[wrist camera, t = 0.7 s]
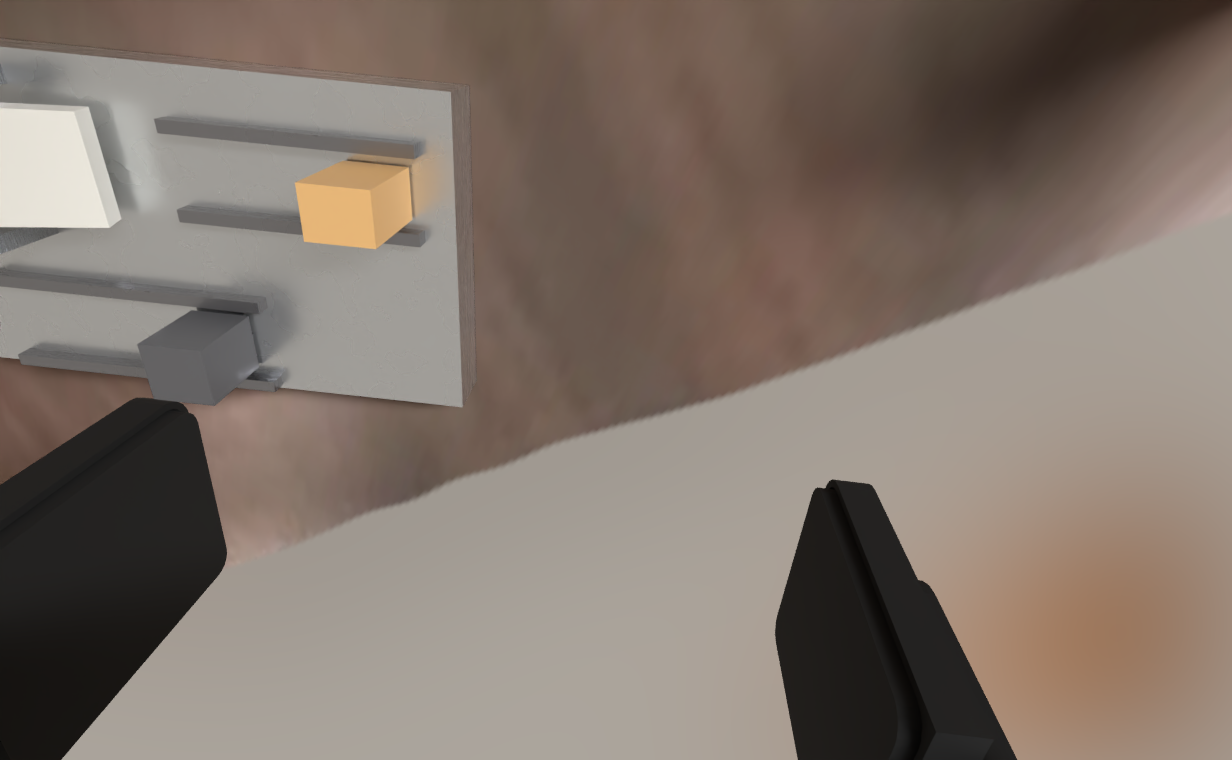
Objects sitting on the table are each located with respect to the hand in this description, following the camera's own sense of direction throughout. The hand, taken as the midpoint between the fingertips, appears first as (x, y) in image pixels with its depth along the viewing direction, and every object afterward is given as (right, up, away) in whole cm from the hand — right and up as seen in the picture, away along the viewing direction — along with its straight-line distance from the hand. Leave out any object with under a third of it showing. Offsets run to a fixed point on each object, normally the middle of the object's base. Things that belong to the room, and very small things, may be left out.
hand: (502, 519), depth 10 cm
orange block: (-9, +11, +20) cm, 25 cm away
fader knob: (-19, +4, +25) cm, 31 cm away
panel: (-19, +10, +25) cm, 33 cm away
